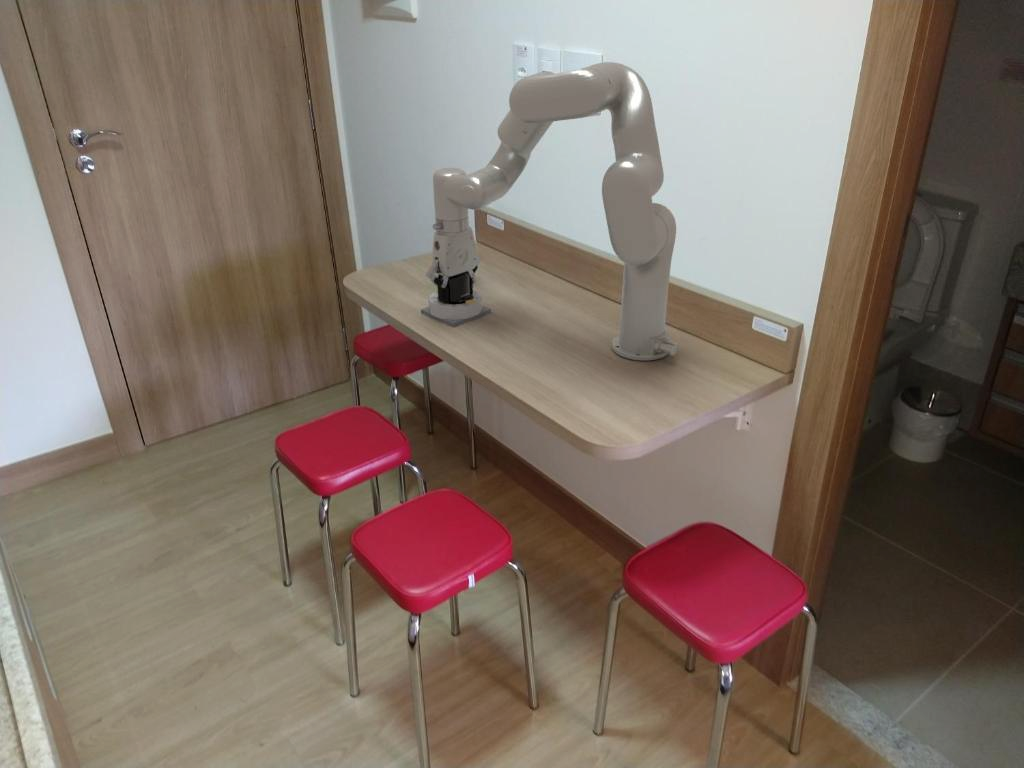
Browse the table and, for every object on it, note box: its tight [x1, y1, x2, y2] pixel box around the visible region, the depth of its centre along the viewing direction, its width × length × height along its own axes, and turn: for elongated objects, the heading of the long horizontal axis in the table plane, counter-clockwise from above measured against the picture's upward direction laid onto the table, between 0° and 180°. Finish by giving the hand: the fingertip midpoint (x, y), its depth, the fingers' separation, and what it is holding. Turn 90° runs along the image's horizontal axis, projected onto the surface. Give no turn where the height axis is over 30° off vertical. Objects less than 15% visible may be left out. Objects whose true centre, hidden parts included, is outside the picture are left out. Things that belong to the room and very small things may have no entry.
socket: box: [420, 288, 492, 328], centre depth 190 cm, size 12×12×5 cm
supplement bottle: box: [441, 272, 470, 305], centre depth 188 cm, size 7×7×12 cm
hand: (455, 296), depth 189 cm, fingers closed on supplement bottle, 6 cm apart
